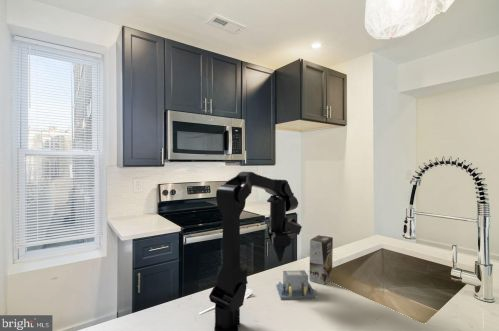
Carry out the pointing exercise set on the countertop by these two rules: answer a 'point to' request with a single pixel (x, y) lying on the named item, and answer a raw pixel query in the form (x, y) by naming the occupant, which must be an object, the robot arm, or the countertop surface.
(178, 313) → the countertop surface
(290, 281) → the block
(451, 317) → the countertop surface
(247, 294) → the fork
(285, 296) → the tray
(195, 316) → the countertop surface
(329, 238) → the coffee box
